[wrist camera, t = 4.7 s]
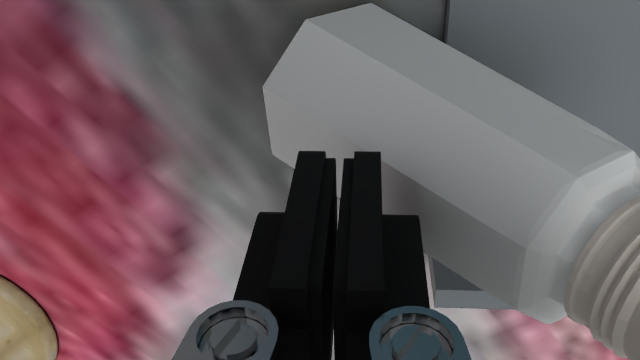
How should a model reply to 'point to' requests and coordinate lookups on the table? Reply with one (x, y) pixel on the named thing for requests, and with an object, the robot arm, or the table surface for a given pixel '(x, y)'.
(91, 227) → the table surface
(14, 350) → the hand bell
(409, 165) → the pepper shaker
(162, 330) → the table surface
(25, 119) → the table surface
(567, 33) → the tray
